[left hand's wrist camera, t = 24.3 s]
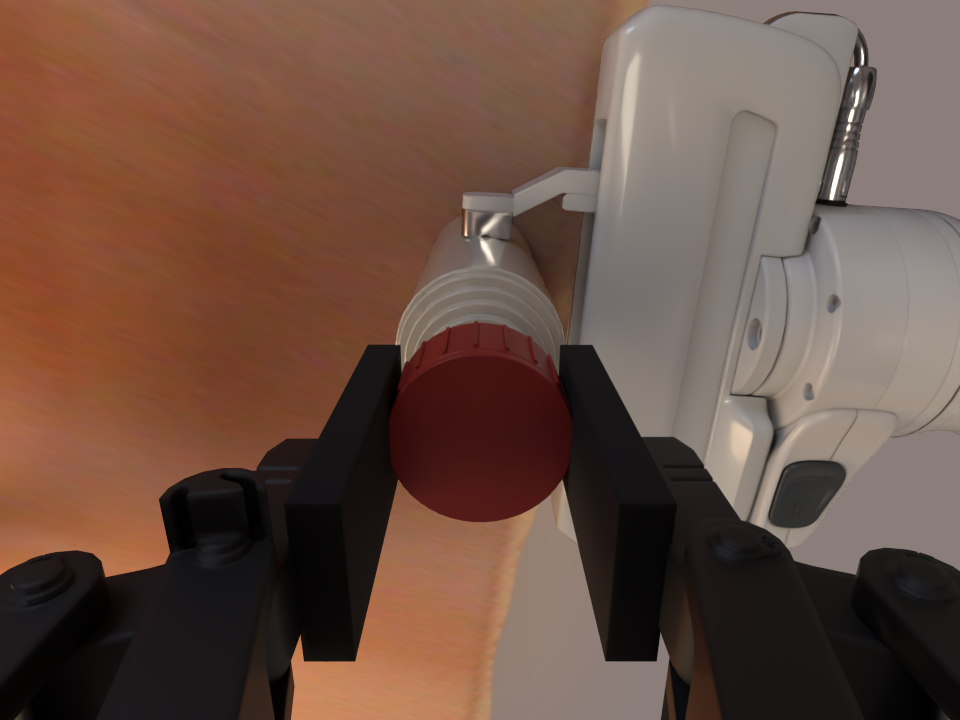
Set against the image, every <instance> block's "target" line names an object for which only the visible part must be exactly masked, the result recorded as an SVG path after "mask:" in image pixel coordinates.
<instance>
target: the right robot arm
mask: <svg viewBox="0 0 960 720" xmlns="http://www.w3.org/2000/svg"><path fill="white" fill-rule="evenodd" d="M853 53H854V67H850V64H851V60H852V56H853ZM876 71H877V70H876V68H873V67H868V48H867V44H866V41H865V38H864V36H863V35H862V33H861V31H860V30H859V29H858V27H857V25H856V24H855V23H854V22H853V21H851V20H849V19H847V18H845V17H842V16H839V15H836V14H824V13H811V12H798V11H794V12H786V13H783V14H780V15H777V16H775V17H773V18H771V19H769V20H767V21H766V22H765V23H759V22H755V21H751V20H747V19H743V18H739V17H735V16H730V15H726V14H721V13H715V12H710V11H704V10H699V9H691V8H685V7H677V6H667V5H655V6H650V7H647V8H644V9H641V10H639V11H638V12H636V13H635V14H633V15H632V16H630V17H629V18H627V19H626V20H625V21H624V22H623V23H622V24H621V25H620V26H619V27H618V28H617V29H616V30H615V31H614V32H613V33H612V34H611V35H610V36H609V37H608V38H607V39H606V41H605V43H604V46H603V50H602V58H601V66H600V74H599V82H598V91H597V99H596V107H595V116H594V124H593V132H592V140H591V149H590V157H589V165H588V168H574V167H556V168H554V169H552V170H551V171H549V172H547V173H545V174H543V175H541V176H539V177H537V178H535V179H533V180H531V181H529V182H527V183H525V184H523V185H521V186H519V187H517V188H515V189H513V190H512V192H511V194H508V193H493V192H478V191H469V192H464V193H463V204H462V227H461V235H463V236H467V237H481V236H483V235H484V234H487V235H488V236H489V237H490V238H495V239H508V240H510V231H511V221H512V216H513V217H515V216H517V215H519V214H521V213H523V212H525V211H527V210H529V209H531V208H533V207H535V206H537V205H539V204H541V203H543V202H545V201H548V200H550V199H552V198H554V197H556V202H557V203H558V205H560V206H561V207H562V208H563V209H564V210H566V211H578V212H583V215H582V223H581V232H580V240H579V248H578V257H577V265H576V273H575V282H574V290H573V298H572V306H571V315H570V323H569V331H568V340H567V345H593V347H594V349H595V350H596V352H597V354H598V356H599V358H600V360H601V362H602V364H603V366H604V367H605V369H606V371H607V373H608V375H609V377H610V379H611V381H612V382H613V384H614V386H615V388H616V390H617V392H618V394H619V396H620V398H621V399H622V401H623V403H624V405H625V407H626V409H627V411H628V413H629V415H630V416H631V418H632V420H633V422H634V424H635V426H636V428H637V430H638V431H639V433H640V435H641V437H675V438H677V439H678V440H680V441H681V442H683V443H684V444H686V445H687V446H689V447H690V448H692V449H693V450H694V451H695V452H696V454H697V455H698V457H699V458H700V460H701V461H702V463H703V464H704V469H707V470H708V472H709V473H710V475H711V476H712V478H713V482H716V484H717V485H718V487H719V488H720V489H721V491H722V492H723V494H724V495H725V497H726V498H727V500H728V501H729V503H730V504H731V506H732V507H733V509H734V510H735V512H736V513H737V515H738V516H739V518H740V519H741V520H742V521H747V522H750V523H752V524H754V525H757V526H759V527H762V528H764V529H766V530H768V531H769V532H770V533H772V534H773V535H775V536H776V537H778V538H779V539H780V540H781V541H782V542H783V543H784V545H785V546H786V547H787V549H789V548H794V547H797V546H800V545H801V544H803V543H804V542H805V541H806V540H807V539H808V538H809V537H810V536H811V535H812V533H813V532H814V531H815V529H816V528H817V527H818V525H819V524H820V522H821V521H822V519H823V518H824V516H825V515H826V514H827V512H828V511H829V509H830V508H831V507H832V505H833V504H834V502H835V501H836V500H837V498H838V497H839V496H840V494H841V493H842V492H843V490H844V489H845V488H846V487H847V485H848V484H849V483H850V482H851V480H852V479H853V478H854V477H855V475H856V474H857V473H858V472H859V471H860V470H861V468H862V467H863V466H864V465H865V464H866V463H867V462H868V461H869V460H870V459H871V458H872V457H873V456H874V455H875V454H876V452H877V451H878V450H879V449H880V448H881V447H882V446H883V445H884V444H885V443H886V442H887V441H888V440H889V438H895V437H904V436H910V435H915V434H921V433H926V432H933V431H950V432H953V433H956V434H958V435H960V220H959V219H956V218H954V217H952V216H949V215H946V214H942V213H939V212H935V211H929V210H921V209H906V208H891V207H875V206H860V205H850V204H847V203H845V201H846V198H847V194H848V190H849V186H850V182H851V179H852V175H853V171H854V167H855V164H856V159H857V154H858V150H857V148H858V147H859V142H858V140H859V139H860V134H859V132H860V131H861V128H862V125H861V124H862V123H863V120H864V117H865V113H866V110H869V108H870V105H871V102H872V99H873V96H874V91H875V87H876V75H877V72H876ZM550 498H551V504H552V510H553V514H554V519H555V523H556V526H557V529H558V530H559V531H560V532H561V533H562V534H563V535H565V536H566V537H567V538H569V539H570V540H571V541H573V542H574V543H575V544H577V545H578V543H577V538H576V534H575V530H574V526H573V522H572V517H571V513H570V509H569V505H568V500H567V496H566V492H565V488H564V483H563V479H562V481H561V482H560V483H559V485H558V486H557V487H556V489H555V490H554V491H553V492H552V493H551V494H550Z"/></svg>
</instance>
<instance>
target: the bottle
mask: <svg viewBox="0 0 960 720" xmlns="http://www.w3.org/2000/svg"><path fill="white" fill-rule="evenodd" d="M461 227H462V216H459V217H457V218H455V219H454V220H452V221H451V222H449V223H448V224H447V225H446V226H445V227H444V228H443V229H442V230H441V231H440V233H439V234H438V235H437V237H436V239H435V241H434V243H433V245H432V248H431V250H430V252H429V255H428V257H427V259H426V262H425V264H424V266H423V269H422V271H421V273H420V276H419V278H418V280H417V283H416V285H415V287H414V289H413V292H412V294H411V296H410V299H409V301H408V303H407V306H406V308H405V310H404V313H403V315H402V318H401V320H400V323H399V326H398V330H397V334H396V345H401V364H402V371H403V368H404V365H405V363H406V361H408V362H409V361H410V359H411V357H412V356H413V355H414V354H415V352H416V351H417V350H418V349H419V348H420V347H421V345H422V342H423V341H424V340H425V341H428V340H429V339H431V338H432V337H433V336H435V335H437V334H439V333H441V332H442V331H444V330H446V328H447V327H450V328H452V327H455V326H459V325H463V324H471V323H474V321H478V323H490V324H497V325H502V326H503V324H505V325H507V327H509V328H511V329H514V330H516V331H519V332H520V333H522V334H524V335H526V336H527V337H529V336H531V337H532V338H533V341H534V342H535V343H537V344H538V345H539V346H540V347H541V348H542V349H543V350H544V351H545V353H546V354H547V355H549V354H550V355H551V357H552V360H553V363H554V366H555V368H556V371H557V373H558V376H559V358H560V345H565V335H564V331H563V326H562V323H561V321H560V318H559V315H558V313H557V311H556V308H555V306H554V304H553V301H552V299H551V297H550V294H549V292H548V290H547V287H546V285H545V283H544V280H543V278H542V276H541V273H540V271H539V269H538V267H537V264H536V262H535V260H534V257H533V255H532V253H531V250H530V248H529V246H528V243H527V241H526V239H525V237H524V236H523V234H522V233H521V231H520V230H519V229H518V228H517V227H516V226H515V225H514V224H513V223H512V222H511V231H510V240H508V239H495V238H490V237H489V236H488V235H487V234H484V235H483V236H481V237H467V236H463V235H461Z"/></svg>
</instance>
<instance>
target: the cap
mask: <svg viewBox="0 0 960 720" xmlns="http://www.w3.org/2000/svg"><path fill="white" fill-rule="evenodd" d="M396 391H397V394H396V397H395V400H394V403H393V406H392V409H391V412H390V416H389V438H390V455H391V465H392V468H393V470H394V472H395V474H396V476H397V478H398V479H399V481H400V482H401V484H402V485H403V486H404V488H405V489H406V490H407V491H408V492H409V493H410V494H411V495H412V496H413V497H414V498H415V499H416V500H418V501H419V502H420V503H421V504H423V505H425V506H426V507H428V508H429V509H431V510H433V511H435V512H437V513H439V514H441V515H444V516H447V517H450V518H454V519H458V520H462V521H470V522H491V521H498V520H503V519H508V518H511V517H514V516H517V515H520V514H522V513H524V512H526V511H528V510H530V509H532V508H533V507H535V506H536V505H538V504H539V503H541V502H542V501H543V500H544V499H546V498H547V497H548V496H549V495H550V494H551V493H552V492H553V491H554V490H555V489H556V487H557V486H558V485H559V483H560V482H561V481H562V479H563V477H564V475H565V474H566V472H567V470H568V467H569V465H570V450H571V433H572V416H571V413H570V410H569V404H568V401H567V398H566V395H565V391H564V388H563V385H562V382H561V379H560V378H559V376H558V373H557V371H556V368H555V366H554V363H553V360H552V357H551V355H550V354H549V355H547V354H546V353H545V351H544V350H543V349H542V348H541V347H540V346H539V345H538V344H537V343H535V342H534V341H533V338H532V337H531V336H529V337H527V336H526V335H524V334H522V333H520V332H519V331H516V330H514V329H511V328H509V327H507V325H505V324H503V326H502V325H497V324H490V323H478V321H474V323H471V324H463V325H459V326H455V327H452V328H450V327H447V328H446V330H444V331H442V332H441V333H439V334H437V335H435V336H433V337H432V338H431V339H429V340H428V341H425V340H424V341H423V342H422V345H421V347H420V348H419V349H418V350H417V351H416V352H415V354H414V355H413V356H412V357H411V359H410V361H409V362H408V361H406V363H405V365H404V368H403V371H402V374H401V377H400V380H399V383H398V386H397V389H396Z"/></svg>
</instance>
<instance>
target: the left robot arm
mask: <svg viewBox="0 0 960 720" xmlns="http://www.w3.org/2000/svg"><path fill="white" fill-rule="evenodd" d="M401 374H402V364H401V345H368V346H367V348H366V350H365V352H364V354H363V356H362V357H361V359H360V361H359V363H358V365H357V367H356V369H355V371H354V373H353V374H352V376H351V378H350V380H349V382H348V384H347V386H346V388H345V389H344V391H343V393H342V395H341V397H340V399H339V401H338V403H337V405H336V406H335V408H334V410H333V412H332V414H331V416H330V418H329V420H328V422H327V423H326V425H325V427H324V429H323V431H322V433H321V435H320V437H319V439H286V440H284V441H283V442H281V443H280V444H278V445H277V446H275V447H274V448H272V449H271V450H269V451H268V452H267V453H266V454H265V456H264V457H263V459H262V460H261V462H260V463H259V465H258V466H257V471H251V470H247V469H243V468H222V469H216V470H211V471H205V472H202V473H199V474H196V475H193V476H190V477H188V478H185V479H183V480H181V481H180V482H178V483H176V484H175V485H173V486H171V487H170V488H168V489H167V491H166V492H165V493H164V494H163V495H162V496H161V497H160V498H159V502H160V507H161V512H162V516H163V521H164V526H165V530H166V535H167V540H168V544H169V549H170V554H169V556H168V559H167V561H166V563H165V564H164V565H160V566H156V567H152V568H149V569H144V570H139V571H134V572H129V573H125V574H120V575H115V576H110V577H105V574H104V570H103V566H102V562H101V560H99V559H98V558H97V557H96V556H95V555H94V554H92V553H87V552H82V551H77V550H76V551H64V552H54V553H49V554H45V555H44V556H42V555H41V556H38V557H35V558H32V559H29V560H28V561H26V562H24V563H22V564H19V565H17V566H15V567H13V568H11V569H9V570H7V571H6V572H4V573H3V574H1V575H0V720H291V713H292V704H293V695H294V680H293V673H292V666H291V659H292V656H293V654H294V651H295V648H296V645H297V642H298V640H299V637H300V634H301V641H302V649H303V657H304V661H355V660H356V656H357V651H358V647H359V643H360V639H361V634H362V630H363V626H364V622H365V617H366V613H367V609H368V605H369V601H370V596H371V592H372V588H373V584H374V579H375V575H376V571H377V567H378V562H379V558H380V554H381V550H382V546H383V541H384V537H385V533H386V529H387V524H388V520H389V516H390V512H391V507H392V503H393V499H394V495H395V491H396V486H397V482H398V478H397V476H396V474H395V472H394V470H393V468H392V465H391V455H390V438H389V416H390V412H391V409H392V406H393V403H394V400H395V397H396V394H397V391H396V389H397V386H398V383H399V380H400V377H401ZM559 378H560V379H561V382H562V385H563V388H564V391H565V395H566V398H567V401H568V404H569V410H570V413H571V416H572V433H571V450H570V465H569V467H568V470H567V472H566V474H565V475H564V477H563V483H564V488H565V492H566V496H567V500H568V505H569V509H570V513H571V517H572V522H573V526H574V530H575V534H576V538H577V543H578V546H579V551H580V555H581V559H582V564H583V568H584V572H585V576H586V581H587V585H588V589H589V593H590V598H591V602H592V606H593V610H594V614H595V619H596V623H597V627H598V631H599V636H600V640H601V644H602V648H603V653H604V657H605V661H657V654H658V647H659V639H660V632H661V635H662V637H663V640H664V643H665V646H666V648H667V651H668V654H669V657H670V659H669V666H668V673H667V680H666V687H665V694H664V701H663V708H662V716H661V720H949V719H950V720H960V571H959V570H957V569H956V568H954V567H953V566H951V565H948V564H946V563H944V562H942V561H939V560H937V559H935V558H934V557H932V556H929V555H926V554H923V553H917V552H916V551H911V550H905V549H894V548H881V549H876V550H871V551H868V552H867V553H866V554H865V555H864V556H863V557H861V558H860V562H859V566H858V570H857V573H856V575H854V574H849V573H844V572H839V571H834V570H829V569H824V568H820V567H815V566H811V565H807V564H803V563H800V562H796V561H794V560H793V558H792V555H791V553H790V551H789V550H788V549H787V547H786V546H785V545H784V543H783V542H782V541H781V540H780V539H779V538H778V537H776V536H775V535H773V534H772V533H770V532H769V531H768V530H766V529H764V528H762V527H759V526H757V525H754V524H752V523H750V522H747V521H742V520H741V519H740V518H739V516H738V515H737V513H736V512H735V510H734V509H733V507H732V506H731V504H730V503H729V501H728V500H727V498H726V497H725V495H724V494H723V492H722V491H721V489H720V488H719V487H718V485H717V484H716V482H713V478H712V476H711V475H710V473H709V472H708V470H707V469H704V464H703V463H702V461H701V460H700V458H699V457H698V455H697V454H696V452H695V451H694V450H693V449H692V448H690V447H689V446H687V445H686V444H684V443H683V442H681V441H680V440H678V439H677V438H675V437H641V435H640V433H639V431H638V430H637V428H636V426H635V424H634V422H633V420H632V418H631V416H630V415H629V413H628V411H627V409H626V407H625V405H624V403H623V401H622V399H621V398H620V396H619V394H618V392H617V390H616V388H615V386H614V384H613V382H612V381H611V379H610V377H609V375H608V373H607V371H606V369H605V367H604V366H603V364H602V362H601V360H600V358H599V356H598V354H597V352H596V350H595V349H594V347H593V345H560V358H559Z"/></svg>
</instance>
